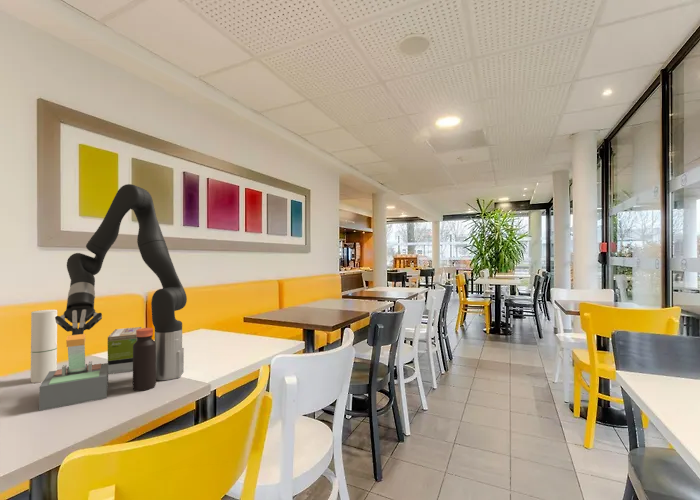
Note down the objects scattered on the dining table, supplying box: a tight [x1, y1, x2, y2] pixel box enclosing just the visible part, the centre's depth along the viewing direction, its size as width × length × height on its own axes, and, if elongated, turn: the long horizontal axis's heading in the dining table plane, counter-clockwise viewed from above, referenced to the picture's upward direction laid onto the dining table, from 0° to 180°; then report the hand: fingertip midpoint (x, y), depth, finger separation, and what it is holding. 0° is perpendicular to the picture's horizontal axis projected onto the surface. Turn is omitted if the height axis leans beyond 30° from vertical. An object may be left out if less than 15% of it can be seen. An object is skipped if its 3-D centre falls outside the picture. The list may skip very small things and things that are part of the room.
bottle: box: [132, 327, 157, 392], centre depth 117 cm, size 7×7×20 cm
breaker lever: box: [65, 333, 88, 374], centre depth 109 cm, size 5×3×14 cm, turn 124°
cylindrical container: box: [30, 309, 58, 384], centre depth 126 cm, size 7×7×25 cm
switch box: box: [38, 360, 109, 412], centre depth 111 cm, size 16×16×10 cm
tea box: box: [107, 326, 142, 375], centre depth 139 cm, size 15×10×15 cm
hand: (77, 339), depth 110 cm, fingers closed
